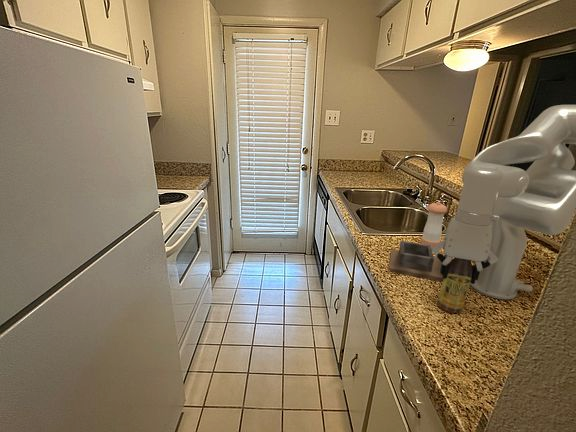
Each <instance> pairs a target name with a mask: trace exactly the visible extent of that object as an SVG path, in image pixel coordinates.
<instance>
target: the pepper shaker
mask: <svg viewBox="0 0 576 432" xmlns="http://www.w3.org/2000/svg"><path fill="white" fill-rule="evenodd" d="M427 211H428V216H427V218H426V219H427V221H426V222H425V226H424V228H423V233H422V236H421V237H420V238H421V239H420V243H419V244H425V245H431V248H432V247H433V246H435V245H437V244H439V243H440V242H442V240H441V238H442V237H441V236H442V234H443V233H442V232H443V231H442V230H443V222H444V216H445V214H446V213H447V212H448V208H447V206H446V205H444V204H443V203H441V202H440V201H437V202H435V203H434V202H433V203H430V204H428V206H427Z"/></svg>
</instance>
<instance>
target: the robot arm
mask: <svg viewBox="0 0 576 432" xmlns="http://www.w3.org/2000/svg"><path fill="white" fill-rule="evenodd" d="M566 144H567V145H569V144H570V145H576V104H560V105H559V104H558V105H557V104H556V105H553V106H550V107H548V108H546V109H545V110H543V111H542V112H540V114H539V115H538V116H537V117H536V118H535V119H534V120H533V121H532V122H531V123H530V124H529V125H528V126H527V127H526V128H525V129H524V130H523V131H522V132H521V133H520V134H519V135H517V136H515V137H512V138H507V139H506V140H503V141H500V142H498V143H497V142H496V143H494V144H492V145H489V146H488V147H485V148H484V149H482V150H481V151H479V153H477V155H475V157H473V158H472V159H471V161H469V162H468V164H466V166H465V168H464V169H463V172H462V175H461V182H462V189H461V194H460V197H459V202H458V206H457V210H456V215H455V217H451V219H450V221H449V223H448V225H447V228H446V231H445V234H444V238H443V240H441V242H440V243H439V244H437V245H435V246H433V247H432V252H433V255H434V256H437V257H438V259H439V260H440V261H441V262H442V265H441V269H440V274H442V276H443V278H444V279H445V278H446V277H447V273H448V269H449V265H448V263H449V262H450V260H451V259H454V258H460V259H467V260H471V262H472V261H473V262H474V264H473V265H472V266H473V273H472V278H471V282H470V285H469V286H471V288H473V289H474V290H475V291H477V292H479V293H481V294H482V295H484V296H487V297H491V298H494V299H498V300H512V299H515V298H516V297H517V294H518V291H521V290H522V291H525V292H529V293H531V292H533V285H531V284H525V281H524V280H516V278H517V277H516V276H517V274H518V270H519V267H520V265H521V261H522V259H523V257H524V256H523V255H524V253H525V249H526V247H527V242H528V239H527V238H528V237H527V234H526V231H525V229H527V230H530V231H533V232H536V233H541V234H544V235H547V236H557V235H560V234H561V233H563V232H564V231H565V230H566V229H567V228H568V227H569V226H570V224H571V223H570V221H571V219H572V216H573V214H574V211H575V208H576V170H573V167H574V166H575V163H576V162H575V157H574V156H573V153H572V151H571V150H570V149H569V147H567V146H566ZM531 162H532V164H531V165H530V166H529V167H528V168H527V169H526V170H525V169H522V168H519V167H516V166H510V165H513V164H525V163H531ZM442 249H443V253H442V252H441V251H440V250H442Z"/></svg>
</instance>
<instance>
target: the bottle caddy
mask: <svg viewBox="0 0 576 432" xmlns="http://www.w3.org/2000/svg"><path fill="white" fill-rule="evenodd" d="M389 256H390V257H389V258H390V259H389V270H388V271H389V273H392V274H398V275H404V276H410V277H414V278H420V279H426V280H429V281H436V282H440V283H441V282H442V283H443V280H444V278H443V276H442V274H440V269H441V265H442V262H441V261H440V260H439V259H438V257H437V256H436V255H434V252H433V251H432V248H431V245H425V244H420V243H418V242H411V241H410V242H409V241H406V240H405V241H404V240H400V243H399V249H395V248H394V249H393V248H391V249H390V255H389ZM452 259H453V258H452ZM452 259H451V260H452ZM451 260H450V262H451ZM448 264H449V263H448Z"/></svg>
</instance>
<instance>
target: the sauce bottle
mask: <svg viewBox="0 0 576 432" xmlns="http://www.w3.org/2000/svg"><path fill="white" fill-rule="evenodd" d="M448 265H449V269H448V273H447V277H446V278H445V279H444V280H443V282H442V285H441V287H440V292H439V295H438V302H437V303H438V307H439V308H440V309H442V310H444V311H446V312H448V313H452V314H453V313H454V314H455V313H456V314H457V313H460V312H461V311H462V309H463V308H464V305H465V301H466V298H467V295H468V292H469V288H470V286H471V285H470V282H471V278H472V273H473V266H474V265H473V264H472V260H467V259H460V258H454V257H453V258H452V260H451V262H449V264H448Z"/></svg>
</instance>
